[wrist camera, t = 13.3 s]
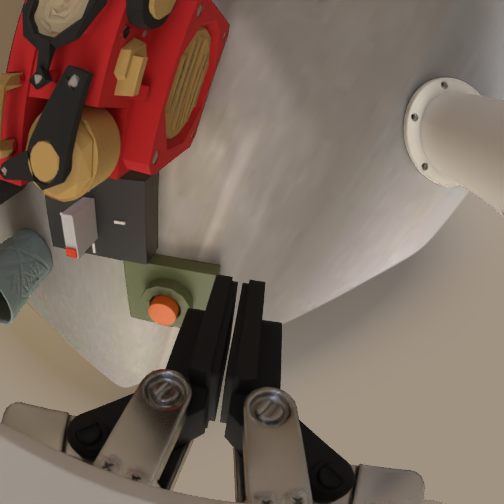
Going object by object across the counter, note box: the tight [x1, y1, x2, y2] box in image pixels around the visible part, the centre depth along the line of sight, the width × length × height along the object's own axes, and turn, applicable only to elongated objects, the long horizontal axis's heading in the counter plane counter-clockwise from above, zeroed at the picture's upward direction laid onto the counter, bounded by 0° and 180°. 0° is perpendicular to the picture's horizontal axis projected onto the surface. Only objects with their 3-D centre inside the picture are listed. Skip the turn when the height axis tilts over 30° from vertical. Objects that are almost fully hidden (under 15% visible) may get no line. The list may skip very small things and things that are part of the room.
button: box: [148, 295, 179, 325], centre depth 36 cm, size 4×4×2 cm
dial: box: [61, 197, 98, 258], centre depth 28 cm, size 5×2×5 cm, turn 172°
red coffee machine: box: [0, 0, 230, 202], centre depth 17 cm, size 16×10×20 cm, turn 162°
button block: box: [124, 254, 220, 328], centre depth 38 cm, size 12×10×4 cm
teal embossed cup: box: [0, 229, 52, 325], centre depth 34 cm, size 10×10×12 cm
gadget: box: [45, 170, 159, 265], centre depth 32 cm, size 14×10×4 cm
